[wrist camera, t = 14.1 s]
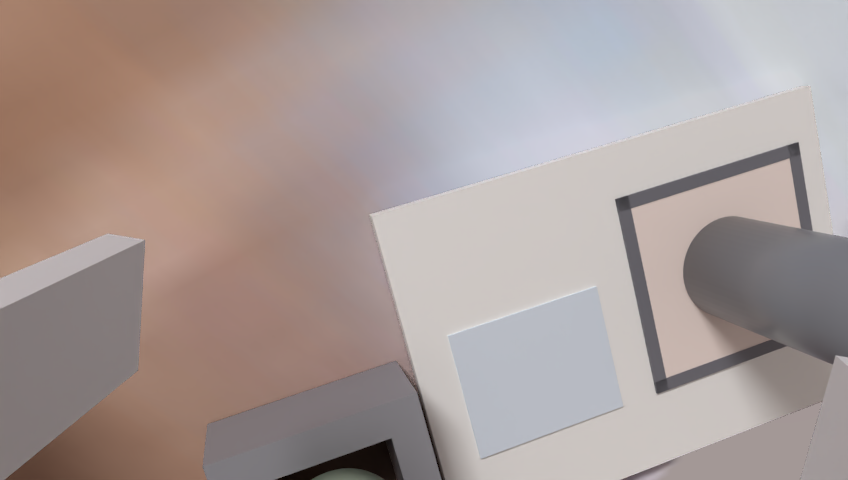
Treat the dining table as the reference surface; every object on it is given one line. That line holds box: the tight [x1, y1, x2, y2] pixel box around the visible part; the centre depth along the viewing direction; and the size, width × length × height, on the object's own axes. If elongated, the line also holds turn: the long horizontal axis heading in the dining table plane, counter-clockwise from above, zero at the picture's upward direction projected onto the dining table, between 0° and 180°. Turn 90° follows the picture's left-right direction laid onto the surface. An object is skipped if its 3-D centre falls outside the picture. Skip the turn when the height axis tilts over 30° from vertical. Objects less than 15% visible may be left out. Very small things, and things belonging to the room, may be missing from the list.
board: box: [369, 86, 833, 480], centre depth 30 cm, size 18×13×1 cm
